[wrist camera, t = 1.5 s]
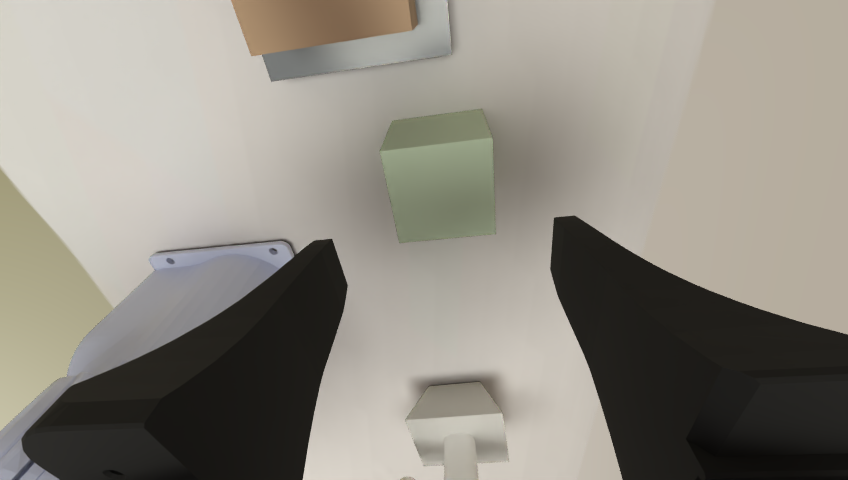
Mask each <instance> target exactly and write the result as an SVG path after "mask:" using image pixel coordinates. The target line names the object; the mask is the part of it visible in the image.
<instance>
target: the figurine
mask: <svg viewBox="0 0 848 480" xmlns="http://www.w3.org/2000/svg"><path fill="white" fill-rule="evenodd" d="M405 422H406V424H407V426H408V429H409V431H410V434H411V436H412V439H413V441H414V443H415V446H416V448H417V451H418V453H419V456H420V458H421V461H422V463H423V465H424V466H436V465H444V480H478V469H477V463H493V462H509V456H508V449H507V441H506V434H505V427H504V419H503V413H502V412H501V410H500V409H499V407H498V406H497V405H496V403H495V402H494V400H493V399H492V398H491V396H490V395H489V394H488V392H487V391H486V389H485V388H484V387H483V385H482V384H481V383H480V382H472V383H461V384H449V385H437V386H429V387H428V388H427V390H426V391H425V392H424V394H423V395H422V397H421V398H420V400H419V401H418V402H417V404H416V405H415V407H414V408H413V409H412V411H411V412H410V414H409V415H408V417H407V418H406V419H405ZM400 480H415V479H414V478H411V477H403V478H401V479H400Z"/></svg>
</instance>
